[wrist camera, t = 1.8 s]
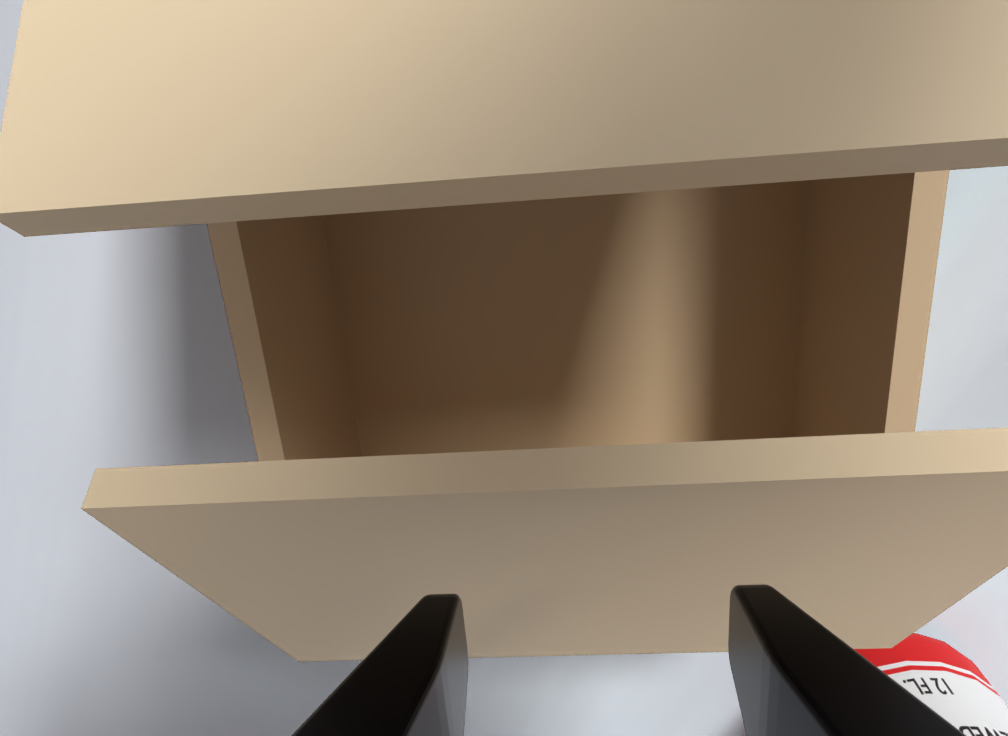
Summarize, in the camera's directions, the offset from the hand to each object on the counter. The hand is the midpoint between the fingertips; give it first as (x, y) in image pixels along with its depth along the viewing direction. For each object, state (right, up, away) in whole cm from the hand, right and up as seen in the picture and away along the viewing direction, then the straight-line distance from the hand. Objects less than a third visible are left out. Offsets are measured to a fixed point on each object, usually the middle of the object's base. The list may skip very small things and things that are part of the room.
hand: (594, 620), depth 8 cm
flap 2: (0, -1, +5) cm, 5 cm away
